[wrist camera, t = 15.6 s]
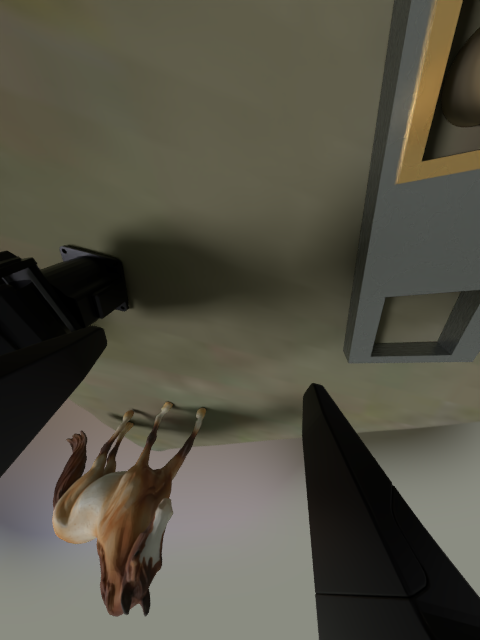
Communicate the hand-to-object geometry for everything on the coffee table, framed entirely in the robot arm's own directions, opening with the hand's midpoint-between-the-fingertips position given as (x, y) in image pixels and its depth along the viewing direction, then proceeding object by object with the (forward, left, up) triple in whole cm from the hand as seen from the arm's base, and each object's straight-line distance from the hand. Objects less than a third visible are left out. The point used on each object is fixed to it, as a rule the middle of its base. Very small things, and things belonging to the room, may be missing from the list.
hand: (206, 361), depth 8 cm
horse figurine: (-13, -31, -13) cm, 36 cm away
